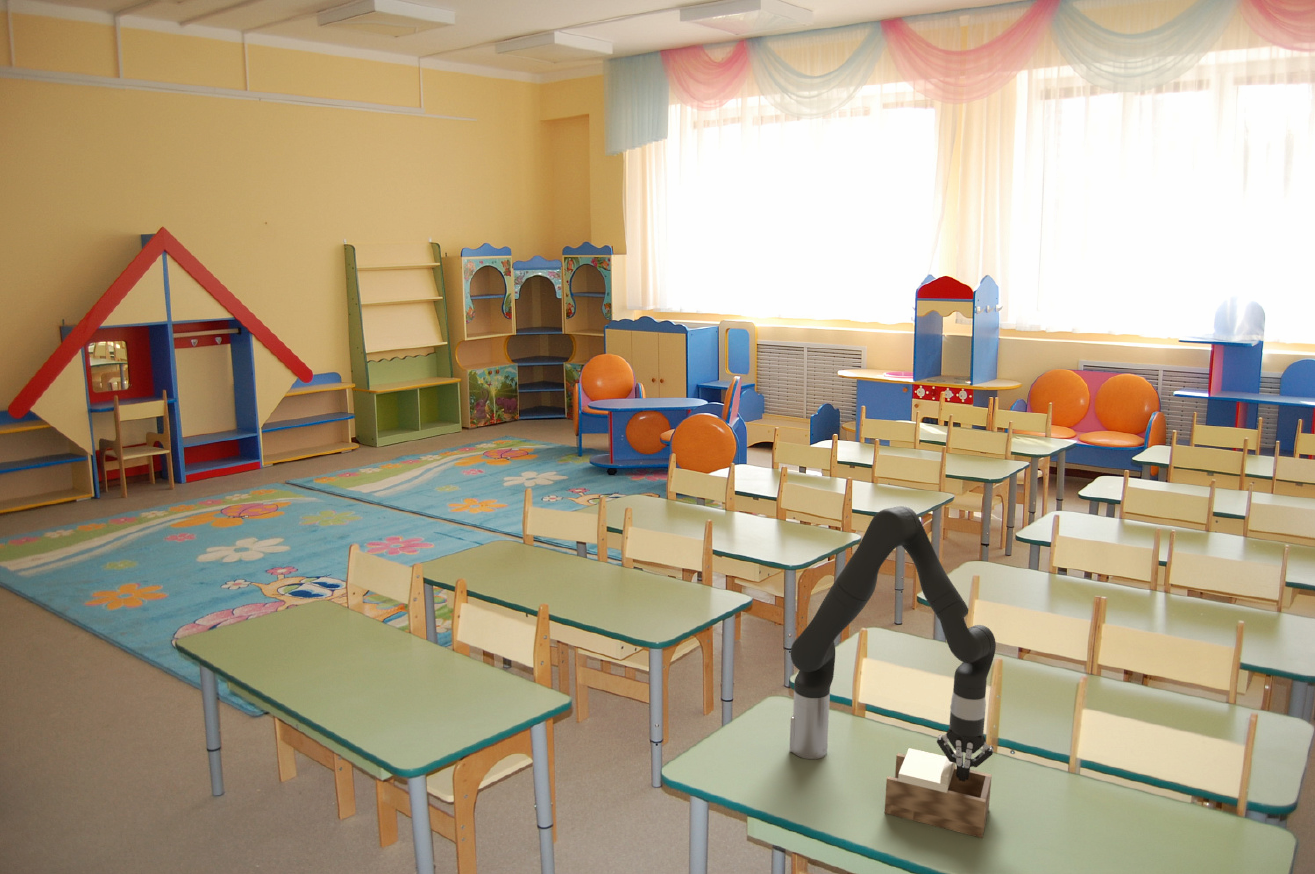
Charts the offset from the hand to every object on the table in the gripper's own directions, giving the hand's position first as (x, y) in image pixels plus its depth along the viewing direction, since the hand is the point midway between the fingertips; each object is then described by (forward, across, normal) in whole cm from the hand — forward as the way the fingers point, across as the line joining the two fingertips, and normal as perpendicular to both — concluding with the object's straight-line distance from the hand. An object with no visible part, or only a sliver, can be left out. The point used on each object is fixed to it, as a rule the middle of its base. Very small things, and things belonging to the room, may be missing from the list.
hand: (962, 779), depth 222 cm
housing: (+10, +5, 0) cm, 11 cm away
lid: (+1, +8, 0) cm, 8 cm away
